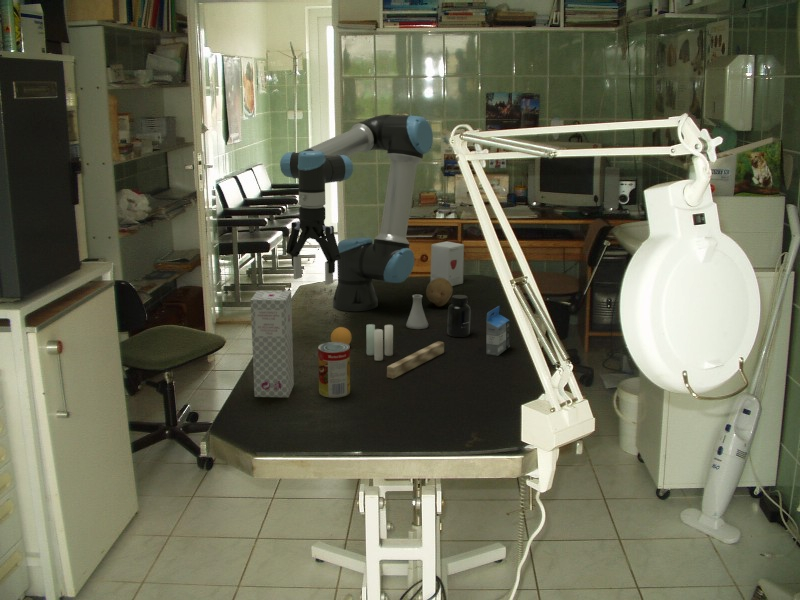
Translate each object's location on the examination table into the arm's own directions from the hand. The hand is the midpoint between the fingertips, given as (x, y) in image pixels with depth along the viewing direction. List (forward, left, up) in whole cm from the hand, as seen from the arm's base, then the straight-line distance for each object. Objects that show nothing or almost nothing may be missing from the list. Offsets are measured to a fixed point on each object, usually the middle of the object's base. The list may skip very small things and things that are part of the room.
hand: (313, 280), depth 257 cm
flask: (-30, +17, -19) cm, 39 cm away
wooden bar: (0, +36, -18) cm, 40 cm away
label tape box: (-23, +49, -19) cm, 57 cm away
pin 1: (+3, +25, -18) cm, 31 cm away
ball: (0, +10, -15) cm, 18 cm away
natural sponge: (-53, +11, -19) cm, 57 cm away
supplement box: (-82, -3, -19) cm, 84 cm away
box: (+37, +17, -19) cm, 45 cm away
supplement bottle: (-30, +32, -19) cm, 48 cm away
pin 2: (-2, +25, -18) cm, 31 cm away
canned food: (+29, +30, -19) cm, 46 cm away
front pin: (0, +21, -18) cm, 28 cm away
